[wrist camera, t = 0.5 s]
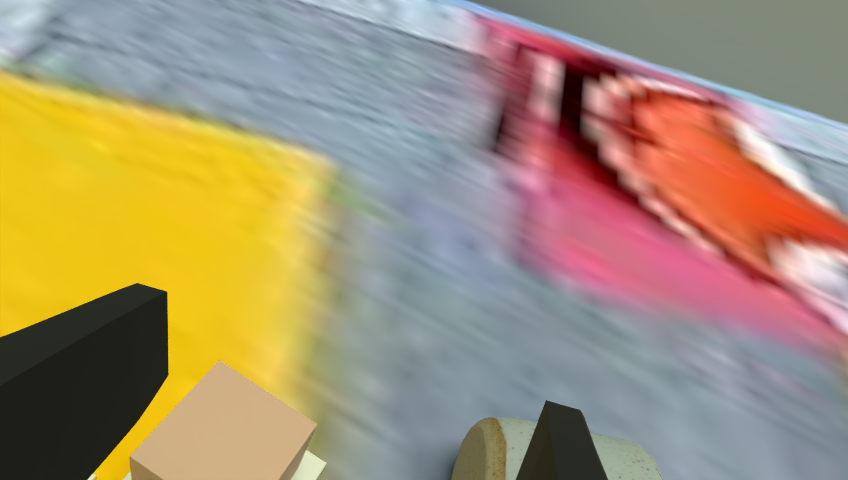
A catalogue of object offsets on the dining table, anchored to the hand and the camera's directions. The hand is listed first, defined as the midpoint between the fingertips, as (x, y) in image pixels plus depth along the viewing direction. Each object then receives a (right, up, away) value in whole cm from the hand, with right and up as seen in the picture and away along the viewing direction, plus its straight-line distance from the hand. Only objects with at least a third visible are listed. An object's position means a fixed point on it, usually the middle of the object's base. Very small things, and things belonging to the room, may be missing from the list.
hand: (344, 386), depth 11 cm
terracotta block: (-8, -8, +16) cm, 20 cm away
